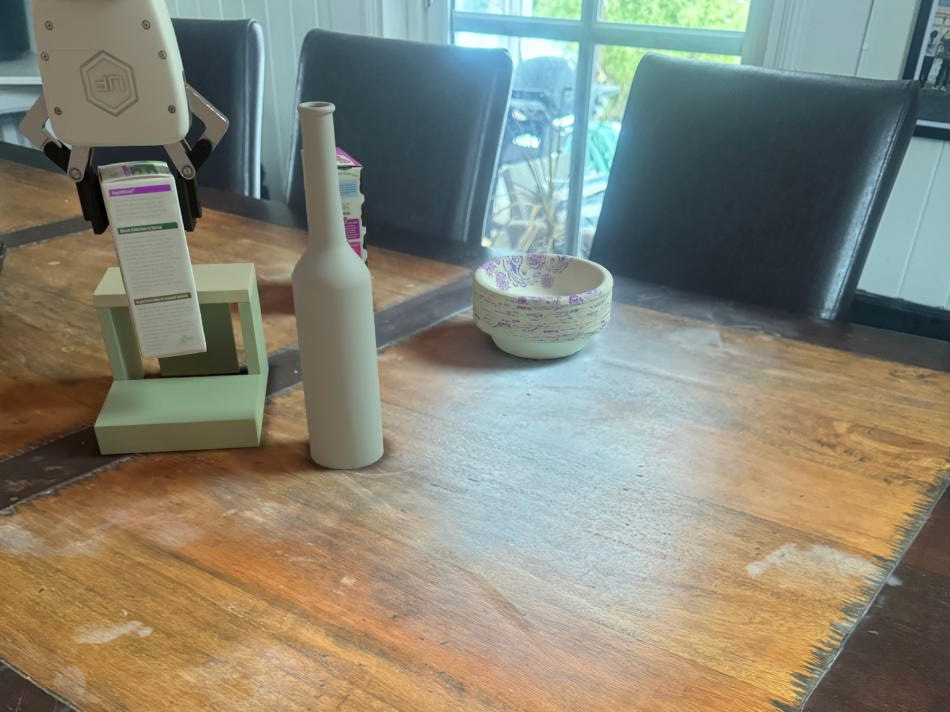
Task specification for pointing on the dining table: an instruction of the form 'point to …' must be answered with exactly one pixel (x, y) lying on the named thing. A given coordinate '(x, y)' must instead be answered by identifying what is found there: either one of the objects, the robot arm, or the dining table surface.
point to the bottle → (334, 315)
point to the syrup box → (153, 257)
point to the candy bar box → (349, 201)
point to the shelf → (185, 371)
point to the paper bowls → (541, 303)
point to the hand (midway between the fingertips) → (146, 226)
